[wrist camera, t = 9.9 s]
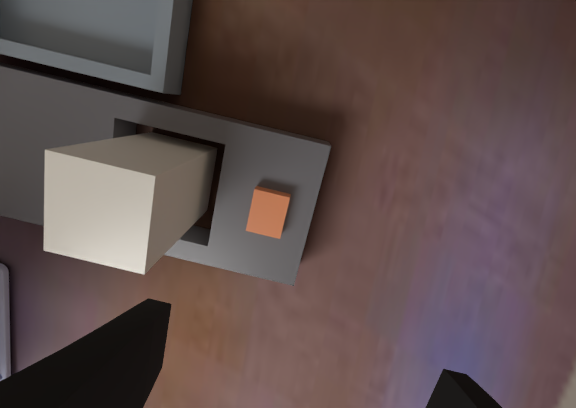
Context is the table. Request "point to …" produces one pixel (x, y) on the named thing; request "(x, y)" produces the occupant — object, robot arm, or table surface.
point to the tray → (102, 38)
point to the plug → (124, 197)
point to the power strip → (136, 109)
